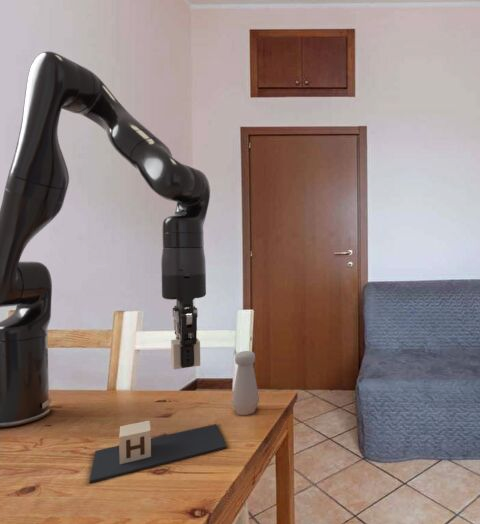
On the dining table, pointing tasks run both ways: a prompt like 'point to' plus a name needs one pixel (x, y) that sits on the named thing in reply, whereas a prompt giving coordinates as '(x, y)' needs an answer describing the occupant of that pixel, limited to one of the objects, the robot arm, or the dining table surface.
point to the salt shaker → (245, 384)
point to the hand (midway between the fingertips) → (185, 362)
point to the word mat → (158, 452)
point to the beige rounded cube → (134, 442)
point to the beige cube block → (176, 354)
